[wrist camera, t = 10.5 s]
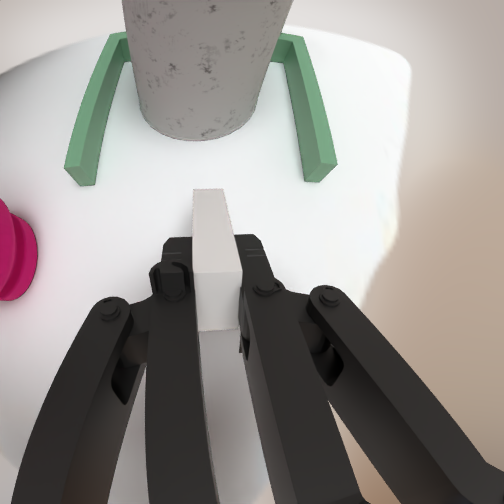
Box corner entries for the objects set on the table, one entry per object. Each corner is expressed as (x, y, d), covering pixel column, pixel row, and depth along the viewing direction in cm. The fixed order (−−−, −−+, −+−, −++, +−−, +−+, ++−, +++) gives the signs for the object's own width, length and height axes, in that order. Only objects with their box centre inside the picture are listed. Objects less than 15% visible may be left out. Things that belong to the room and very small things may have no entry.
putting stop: (80, 186, 16) (-36, 29, 2) (115, 56, 19) (96, -72, 4) (337, 183, 20) (483, 56, 5) (307, 60, 22) (368, -54, 8)
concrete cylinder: (156, 57, 19) (153, -55, 7) (259, 66, 21) (298, -44, 9) (125, 137, 18) (83, -1, 6) (253, 148, 19) (311, 7, 7)
